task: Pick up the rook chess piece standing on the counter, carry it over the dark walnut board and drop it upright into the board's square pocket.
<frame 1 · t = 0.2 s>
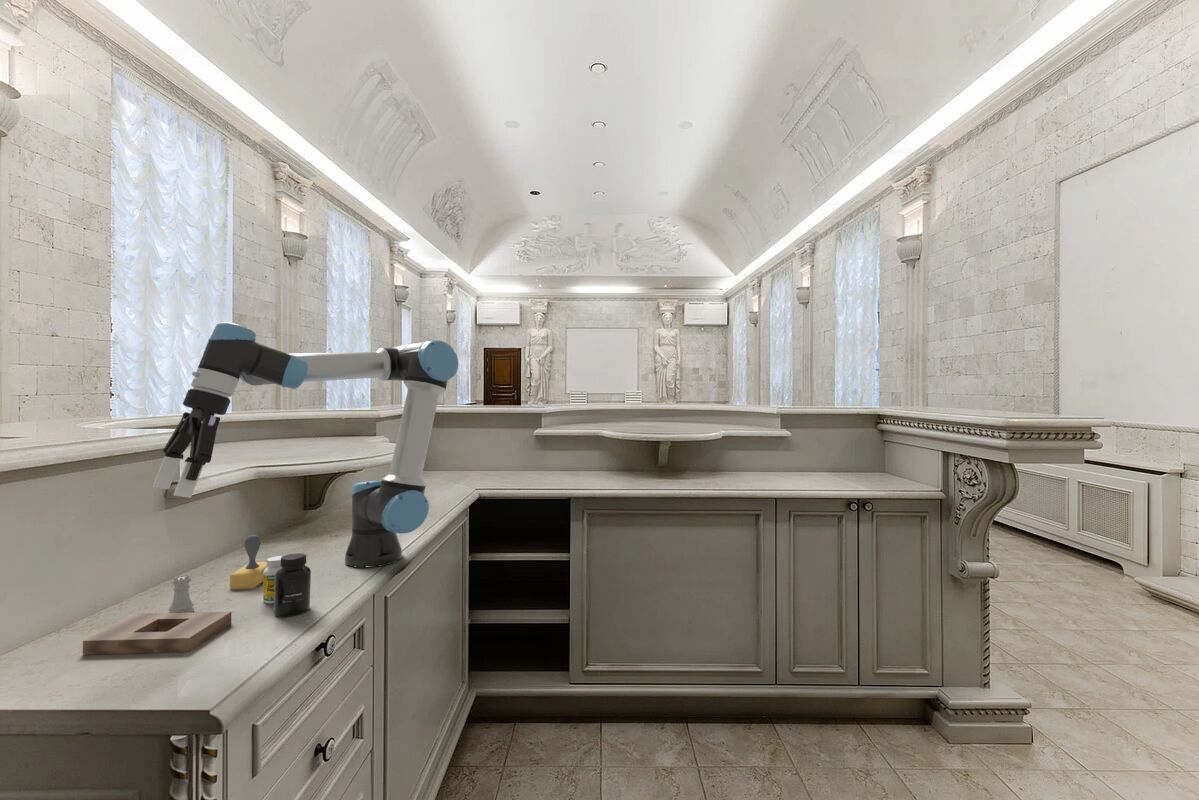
hand: (170, 492, 104), 27 cm above the countertop, tool tilted 15°, fingers open, 13 cm apart
rubber stamp: (252, 582, 130), on the countertop
walnut socket board: (162, 638, 98), on the countertop
rook chess piece: (181, 614, 110), on the countertop
supplement bottle 2: (276, 600, 118), on the countertop
supplement bottle: (292, 612, 111), on the countertop
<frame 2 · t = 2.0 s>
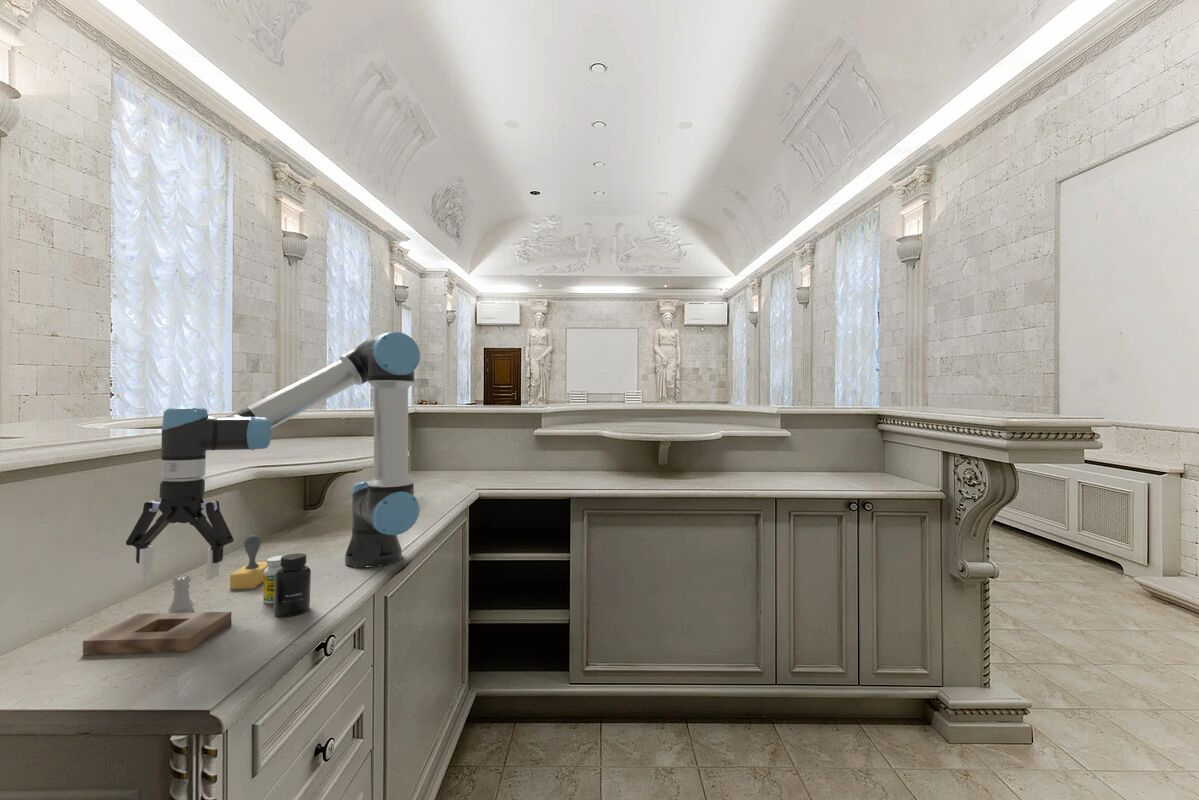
hand: (179, 578, 110), 8 cm above the countertop, tool pointing down, fingers open, 13 cm apart
nothing on the countertop moved.
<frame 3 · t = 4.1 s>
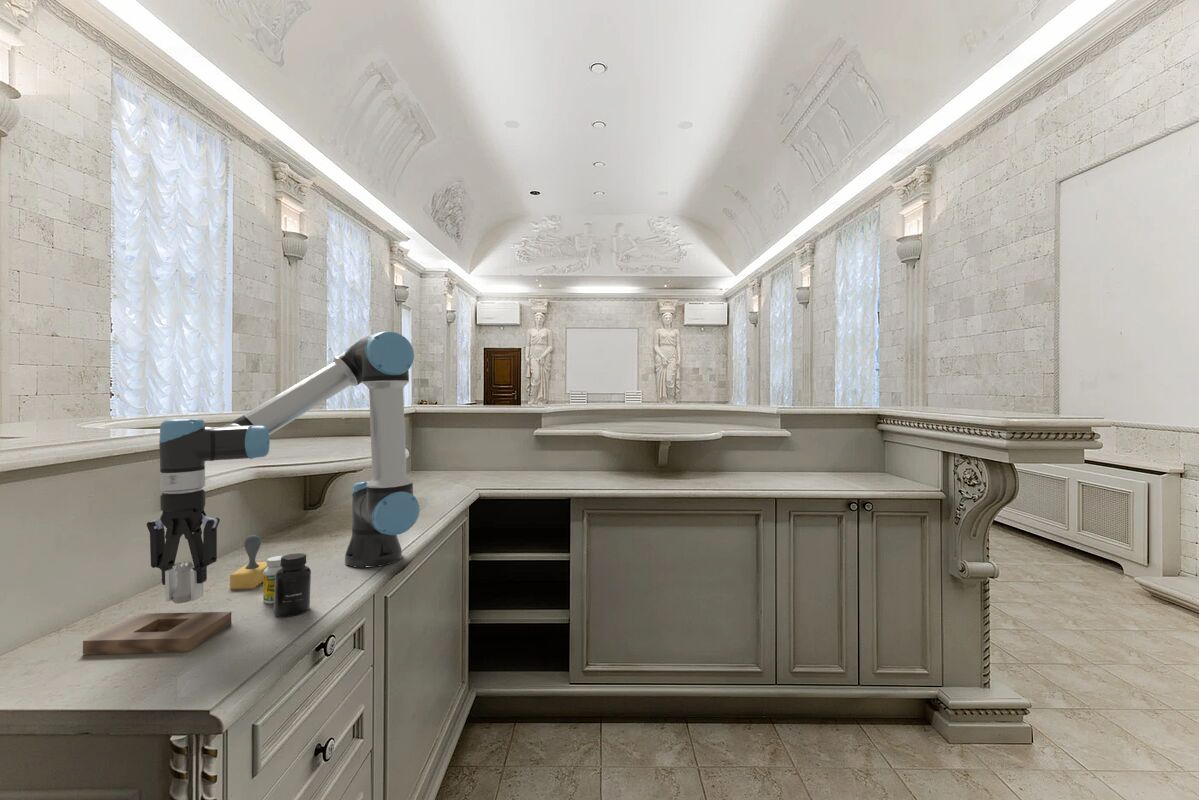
hand: (184, 598, 110), 3 cm above the countertop, tool pointing down, fingers closed on rook chess piece, 4 cm apart
rook chess piece: (185, 600, 110), point 3 cm above the countertop, touching gripper
everything else where it was.
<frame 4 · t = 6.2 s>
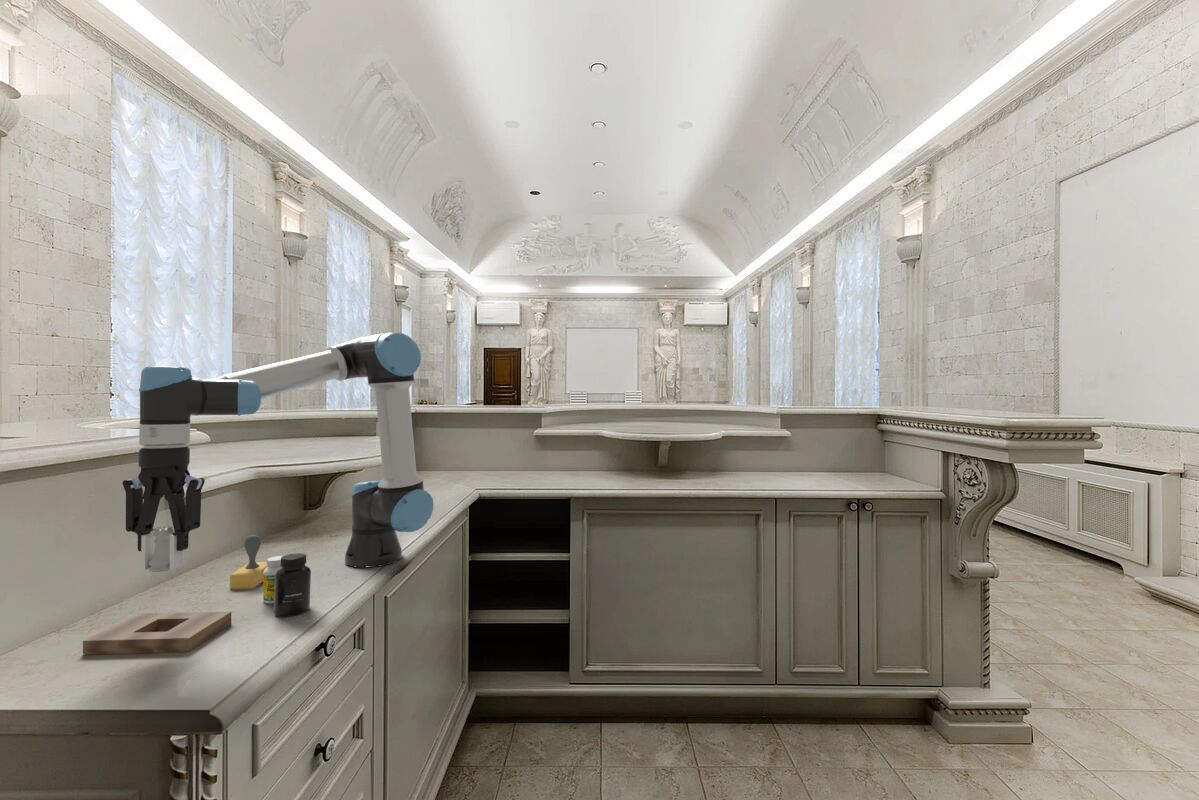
hand: (162, 567, 98), 14 cm above the countertop, tool pointing down, fingers closed on rook chess piece, 4 cm apart
rook chess piece: (163, 569, 98), point 13 cm above the countertop, touching gripper
everything else where it was.
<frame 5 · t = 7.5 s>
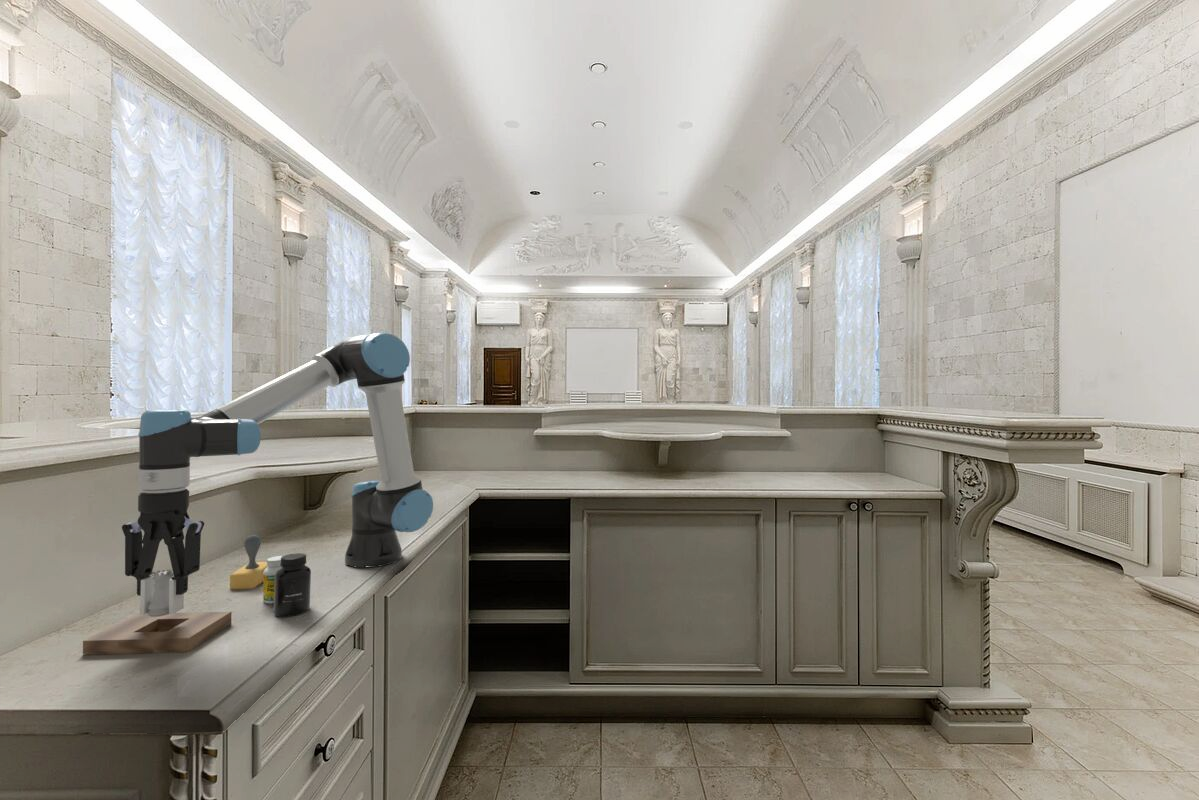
hand: (162, 611, 98), 5 cm above the countertop, tool pointing down, fingers closed on rook chess piece, 4 cm apart
rook chess piece: (162, 613, 98), point 5 cm above the countertop, touching gripper
everything else where it was.
when the fingers open (4 cm above the countertop, at t = 8.4 s): rook chess piece drops 4 cm, resting in walnut socket board.
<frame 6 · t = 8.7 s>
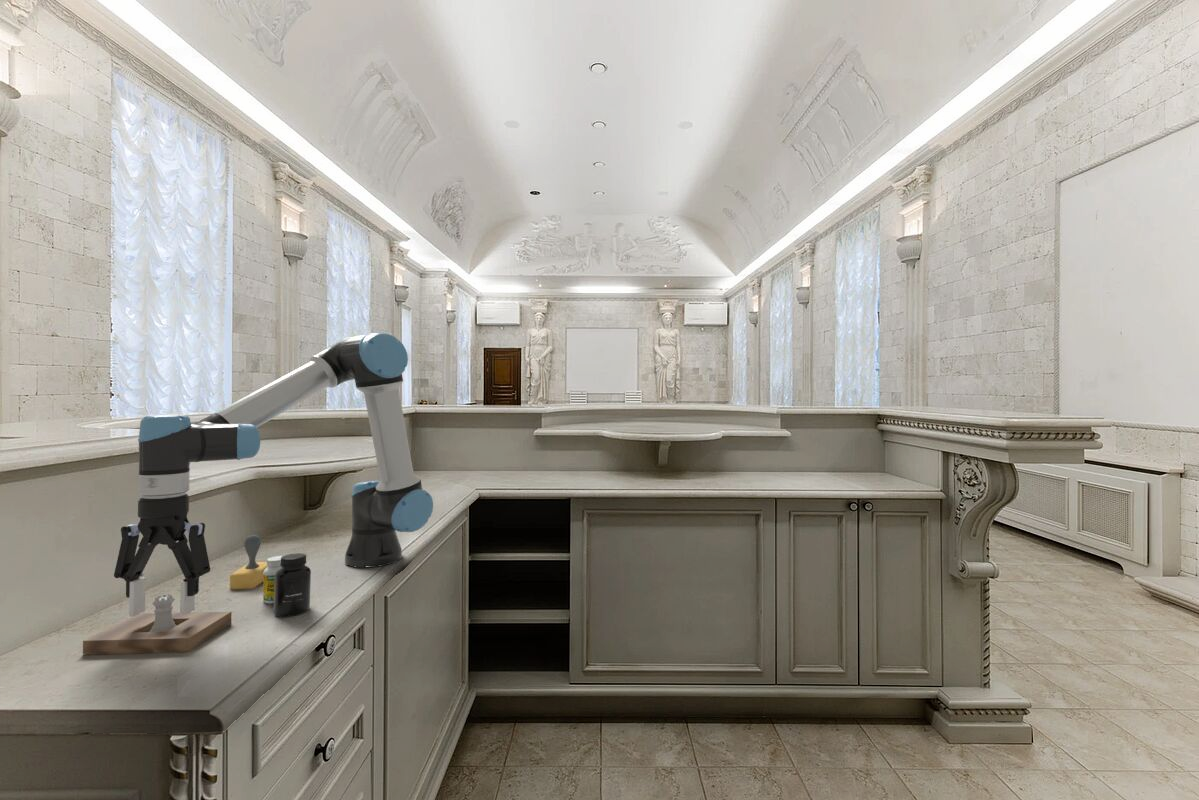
hand: (162, 613, 98), 5 cm above the countertop, tool pointing down, fingers open, 8 cm apart
rook chess piece: (163, 639, 98), resting in walnut socket board
everything else where it was.
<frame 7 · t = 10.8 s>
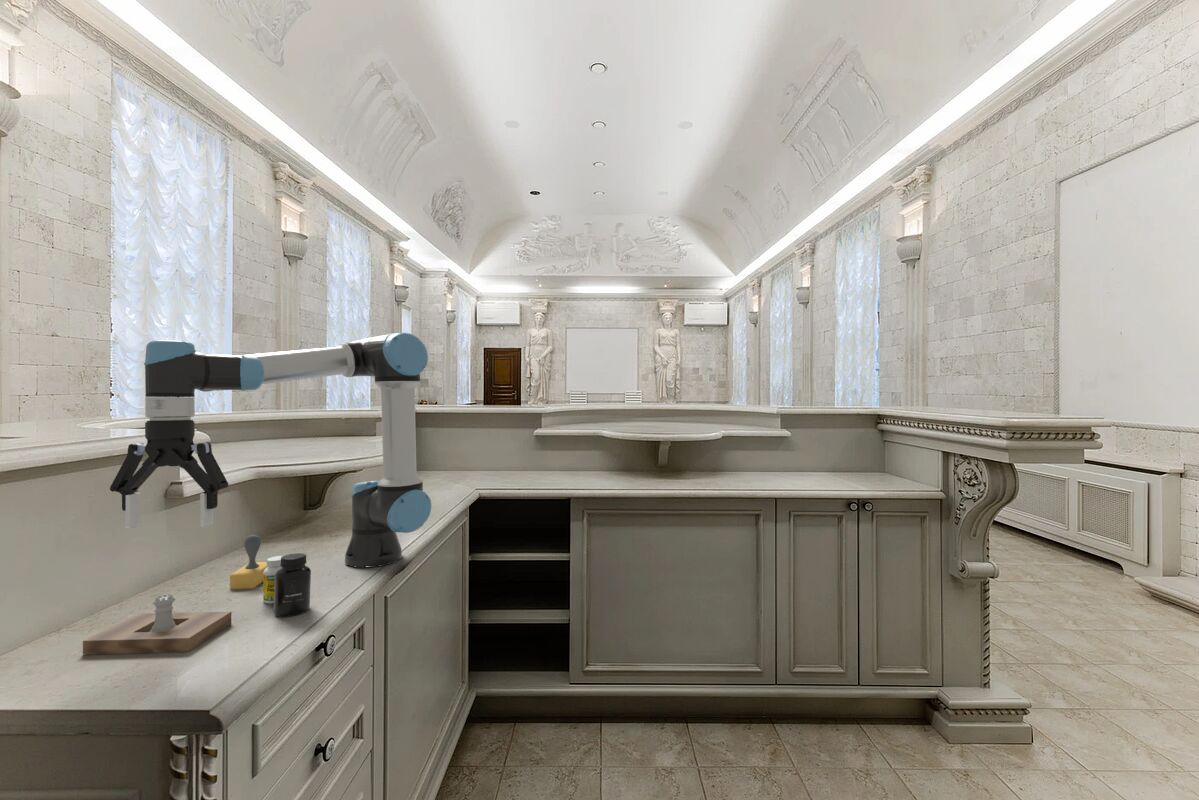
hand: (170, 526, 101), 21 cm above the countertop, tool pointing down, fingers open, 13 cm apart
nothing on the countertop moved.
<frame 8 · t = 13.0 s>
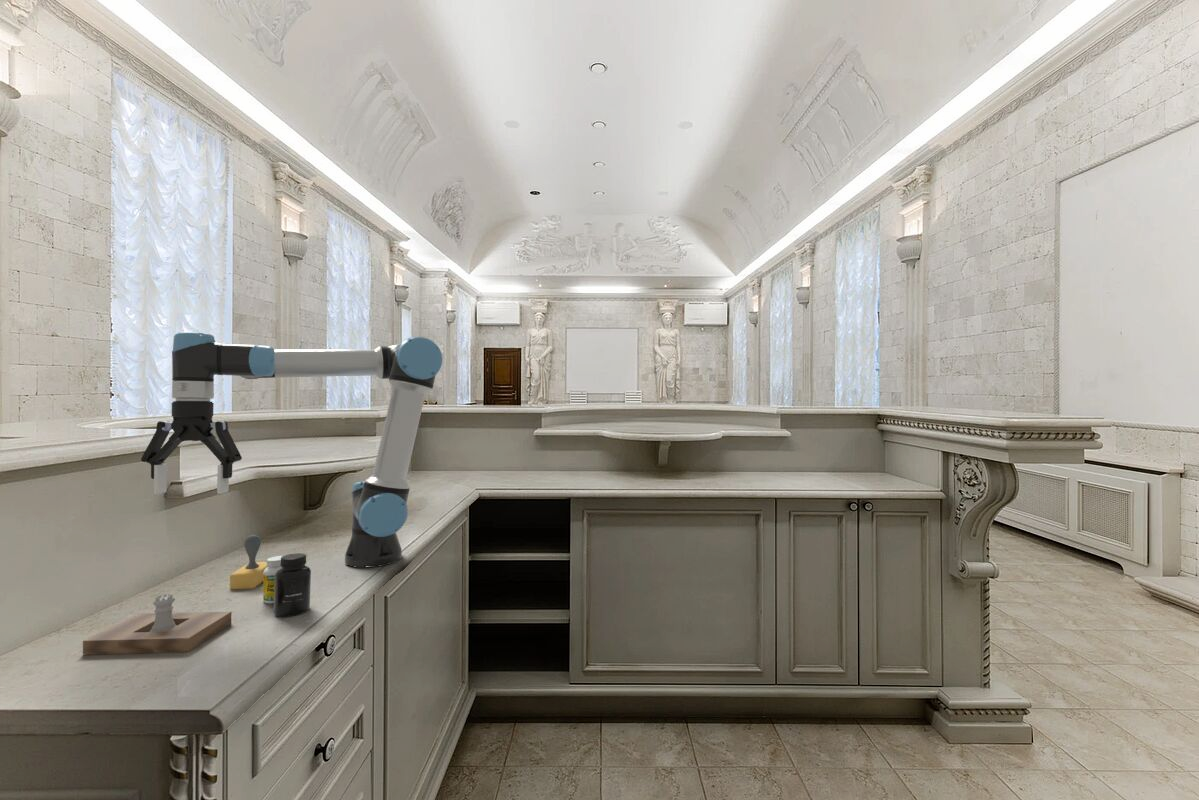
hand: (191, 493, 117), 25 cm above the countertop, tool pointing down, fingers open, 13 cm apart
nothing on the countertop moved.
at the end: rook chess piece 0.2 cm from the walnut socket board (horizontally); rook chess piece tilted 0°; rook chess piece resting in walnut socket board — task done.
